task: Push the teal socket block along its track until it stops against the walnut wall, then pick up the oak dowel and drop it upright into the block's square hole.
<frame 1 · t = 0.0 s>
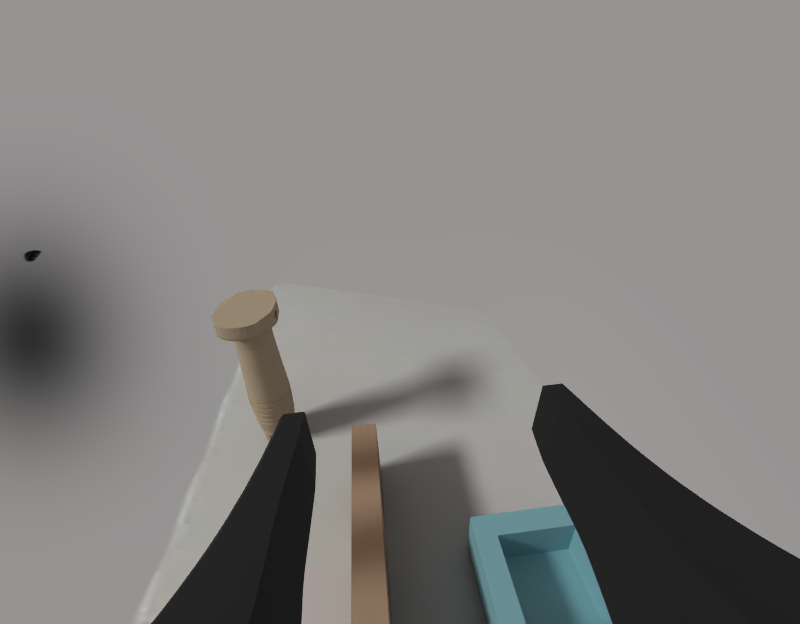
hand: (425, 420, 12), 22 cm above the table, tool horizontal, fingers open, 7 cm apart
socket block: (551, 588, 25), point 2 cm above the table, slide at 0.0 cm
handle: (281, 433, 40), on the table
wall: (375, 593, 27), on the table
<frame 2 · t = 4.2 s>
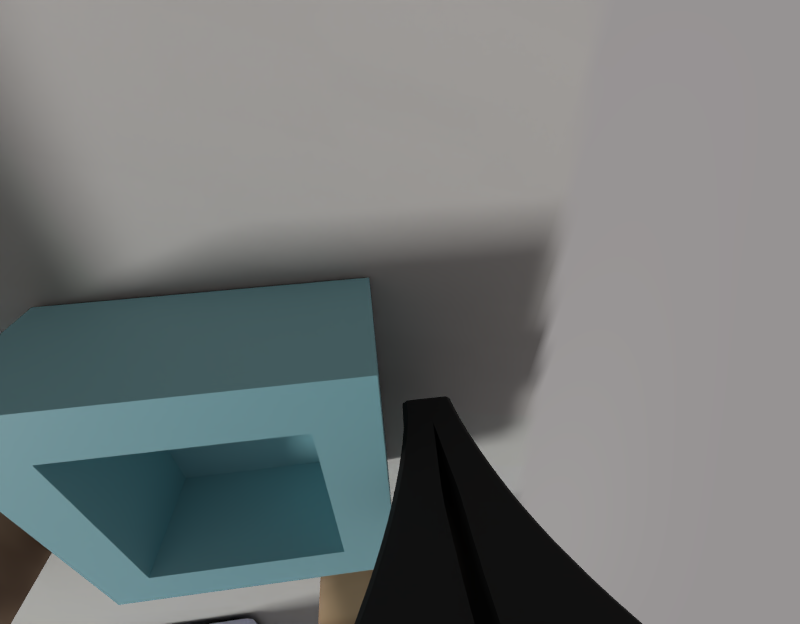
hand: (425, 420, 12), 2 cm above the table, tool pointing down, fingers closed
socket block: (235, 452, 11), point 2 cm above the table, slide at 0.0 cm, touching gripper
dowel: (361, 551, 20), on the table
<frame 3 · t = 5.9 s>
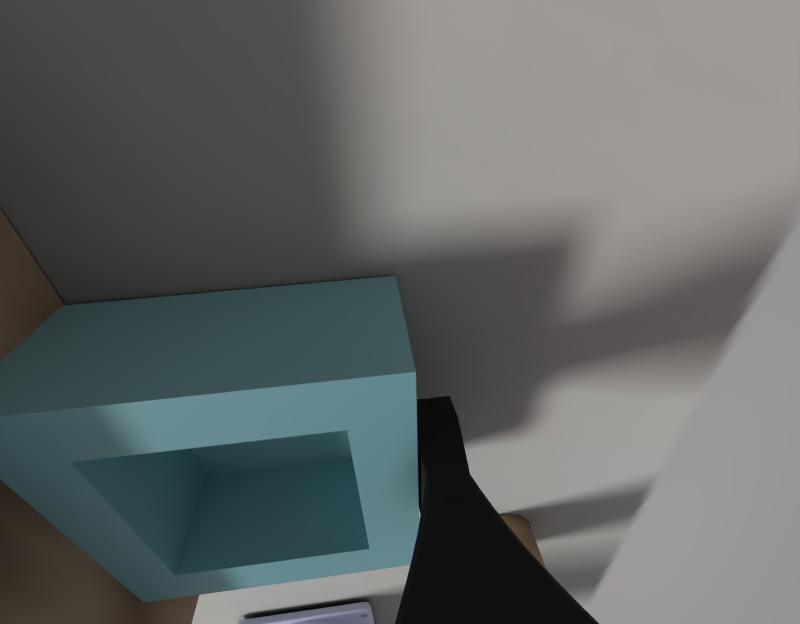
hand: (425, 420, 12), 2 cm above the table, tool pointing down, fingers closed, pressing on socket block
socket block: (261, 449, 11), point 2 cm above the table, slide at 6.2 cm, touching gripper, wall
wall: (71, 372, 11), on the table
dowel: (492, 533, 20), on the table
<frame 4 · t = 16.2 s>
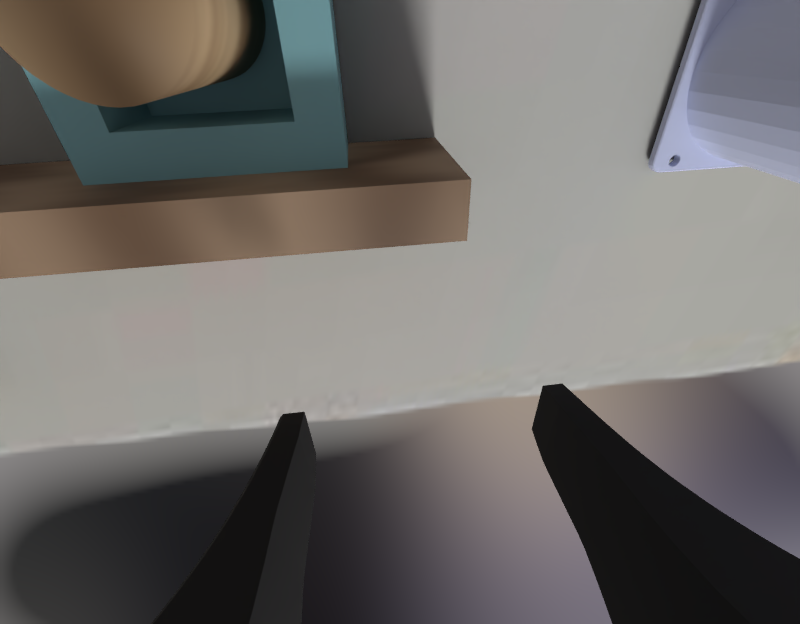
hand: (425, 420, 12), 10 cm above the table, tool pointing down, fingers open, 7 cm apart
socket block: (191, 16, 12), point 2 cm above the table, slide at 6.2 cm, touching dowel
wall: (202, 177, 16), on the table
dowel: (202, 10, 13), point 1 cm above the table, touching socket block
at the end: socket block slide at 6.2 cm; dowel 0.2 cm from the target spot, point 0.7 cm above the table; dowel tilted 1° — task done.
